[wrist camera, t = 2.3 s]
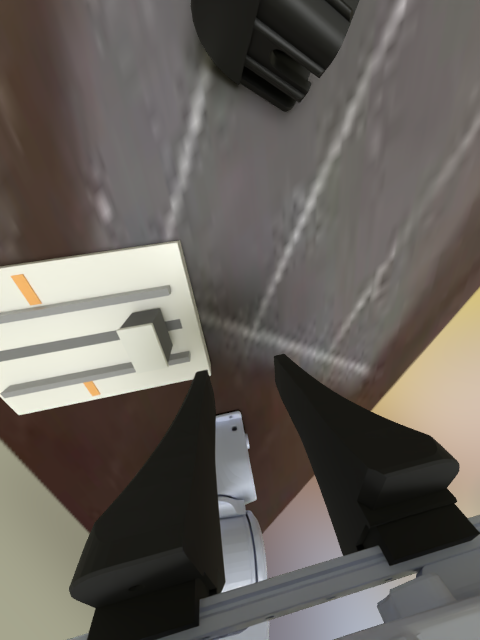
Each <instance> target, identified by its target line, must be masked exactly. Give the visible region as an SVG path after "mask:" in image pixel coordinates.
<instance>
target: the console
mask: <svg viewBox="0 0 480 640" xmlns="http://www.w3.org/2000/svg"><path fill="white" fill-rule="evenodd" d="M157 308H160V309H161V312H162V315H163V318H164V321H165V324H166V327H167V330H168V333H169V336H170V338H171V341H172V344H173V347H172V350H171V354H170V358H169V362H168V368H163V369H158V370H153V371H148V372H143V373H138V374H137V373H136V371H135V369H134V366H133V364H132V362H131V360H130V358H129V356H128V354H127V352H126V350H125V348H124V346H123V344H122V342H121V340H120V338H119V336H118V334H117V332H116V331H117V329H120V327H121V326H122V325H123V324H124V322H125V321H126V320H127V318H128V317H129V316H130V315H131V313H134V312H140V311H146V310H151V309H157ZM203 370H208V373H209V376H211V363H210V359H209V355H208V351H207V347H206V343H205V339H204V335H203V331H202V327H201V323H200V319H199V315H198V311H197V307H196V303H195V299H194V295H193V291H192V287H191V283H190V279H189V275H188V271H187V267H186V263H185V259H184V255H183V251H182V246H181V242H180V240H179V241H172V242H165V243H158V244H151V245H144V246H138V247H131V248H124V249H117V250H110V251H103V252H96V253H90V254H83V255H76V256H69V257H62V258H55V259H48V260H42V261H35V262H28V263H21V264H14V265H7V266H0V397H1V398H2V399H3V400H4V401H5V402H6V403H7V404H8V405H9V406H10V407H11V408H12V409H13V410H14V411H15V412H16V413H17V414H18V415H22V414H27V413H32V412H37V411H41V410H46V409H51V408H56V407H61V406H66V405H70V404H75V403H80V402H85V401H90V400H95V399H100V398H104V397H109V396H114V395H119V394H124V393H129V392H133V391H138V390H143V389H148V388H153V387H158V386H162V385H167V384H172V383H177V382H182V381H187V380H192V379H194V376H195V373H196V372H198V371H203Z"/></svg>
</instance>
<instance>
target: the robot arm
mask: <svg viewBox="0 0 480 640" xmlns="http://www.w3.org/2000/svg"><path fill="white" fill-rule="evenodd" d="M274 366H275V382H276V385H277V388H278V391H279V394H280V396H281V399H282V401H283V403H284V405H285V407H286V409H287V411H288V413H289V415H290V417H291V419H292V421H293V423H294V425H295V427H296V429H297V431H298V433H299V436H300V438H301V440H302V442H303V445H304V447H305V450H306V453H307V455H308V458H309V460H310V463H311V466H312V468H313V471H314V474H315V476H316V479H317V482H318V484H319V487H320V490H321V493H322V496H323V498H324V501H325V504H326V507H327V509H328V512H329V515H330V518H331V521H332V524H333V527H334V530H335V533H336V536H337V539H338V542H339V545H340V548H341V551H342V554H343V556H342V557H338V558H335V559H332V560H329V561H326V562H322V563H319V564H315V565H312V566H309V567H305V568H302V569H299V570H296V571H293V572H289V573H286V574H282V575H279V576H276V577H272V578H269V579H267V565H266V555H265V548H264V543H263V538H262V533H261V529H260V526H259V523H258V521H257V519H256V518H255V516H254V515H253V513H252V512H251V511H250V510H247V511H246V510H245V505H246V504H248V503H250V502H253V501H255V500H256V499H257V498H256V492H255V487H254V481H253V476H252V471H251V465H250V460H249V455H248V448H250V446H249V441H248V436H247V434H245V433H244V428H243V422H242V417H241V412H240V411H235V412H231V413H226V414H222V415H218V416H216V409H215V399H214V392H213V389H212V385H211V381H210V377H209V373H208V370H203V371H198V372H196V373H195V376H194V379H193V381H192V384H191V386H190V389H189V391H188V393H187V395H186V398H185V400H184V402H183V404H182V406H181V408H180V410H179V412H178V414H177V415H176V417H175V419H174V421H173V423H172V424H171V426H170V428H169V429H168V431H167V433H166V434H165V436H164V437H163V439H162V440H161V442H160V443H159V445H158V446H157V448H156V449H155V451H154V452H153V453H152V455H151V456H150V458H149V459H148V460H147V462H146V463H145V464H144V466H143V467H142V468H141V469H140V471H139V472H138V473H137V474H136V476H135V477H134V478H133V479H132V481H131V482H130V483H129V485H128V486H127V487H126V488H125V489H124V490H123V492H122V493H121V494H120V495H119V496H118V497H117V498H116V500H115V501H114V502H113V503H112V504H111V505H110V506H109V508H108V509H107V510H106V511H105V512H104V513H103V514H102V515H101V517H100V518H99V519H98V520H97V521H96V522H95V524H94V526H93V528H92V531H91V533H90V535H89V537H88V539H87V542H86V544H85V547H84V549H83V552H82V555H81V557H80V560H79V563H78V565H77V568H76V571H75V574H74V577H73V579H72V582H71V585H70V587H69V591H70V594H71V597H73V598H74V599H76V600H78V601H80V602H82V603H85V604H88V605H90V606H92V607H95V608H96V610H95V613H94V616H93V620H92V623H91V627H90V631H89V633H87V634H84V635H81V636H78V637H75V638H71V639H67V640H269V633H268V630H269V620H272V619H275V618H278V617H281V616H284V615H287V614H290V613H293V612H297V611H299V610H303V609H306V608H309V607H312V606H315V605H318V604H321V603H325V602H328V601H331V600H334V599H337V598H340V597H343V596H346V595H349V594H353V593H356V592H359V591H362V590H365V589H368V588H371V587H374V586H377V585H381V584H384V583H386V582H390V581H393V580H396V579H399V578H402V577H405V576H408V575H412V574H415V573H417V575H416V578H415V579H413V580H411V581H408V582H406V583H404V584H402V585H400V586H397V587H395V588H393V589H390V594H389V595H388V596H387V597H386V598H384V599H383V600H381V601H380V602H378V605H377V608H378V610H379V612H380V614H381V617H382V619H383V621H384V624H381V625H377V626H374V627H371V628H368V629H365V630H361V631H358V632H355V633H352V634H349V635H346V636H343V637H340V638H337V639H334V640H480V515H477V516H474V517H471V518H467V517H466V516H465V515H464V514H463V513H462V512H461V511H460V510H459V508H458V507H457V506H456V505H455V504H454V503H456V502H457V500H456V498H455V497H454V496H453V494H452V493H451V492H450V491H449V490H448V489H447V487H448V486H449V484H450V483H451V482H452V480H453V479H454V478H455V477H456V475H457V474H458V472H459V463H458V462H457V460H456V459H455V458H453V456H452V455H450V454H449V453H448V452H447V451H446V450H445V449H444V448H443V447H442V446H441V445H440V444H439V443H438V442H437V441H436V440H434V439H433V438H432V437H431V436H429V435H427V434H424V433H421V432H419V431H416V430H413V429H411V428H408V427H406V426H403V425H400V424H398V423H395V422H393V421H391V420H388V419H386V418H384V417H382V416H379V415H377V414H375V413H373V412H371V411H369V410H367V409H365V408H363V407H361V406H359V405H357V404H355V403H353V402H351V401H349V400H347V399H346V398H344V397H342V396H340V395H339V394H337V393H335V392H334V391H332V390H331V389H329V388H327V387H326V386H325V385H323V384H322V383H320V382H319V381H317V380H316V379H315V378H313V377H312V376H311V375H309V374H308V373H307V372H305V371H304V370H303V369H302V368H300V367H299V366H298V365H297V364H296V363H294V362H293V361H292V360H291V359H290V358H288V357H287V356H286V355H285V354H281V355H276V356H274Z"/></svg>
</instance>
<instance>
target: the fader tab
mask: <svg viewBox="0 0 480 640" xmlns="http://www.w3.org/2000/svg"><path fill="white" fill-rule="evenodd" d="M116 332H117V334H118V336H119V338H120V340H121V342H122V344H123V346H124V348H125V350H126V352H127V354H128V356H129V358H130V360H131V362H132V364H133V366H134V369H135V371H136V373H137V374H138V373H143V372H148V371H153V370H158V369H163V368H168V362H169V358H170V354H171V350H172V347H173V344H172V341H171V338H170V336H169V333H168V330H167V327H166V324H165V321H164V318H163V315H162V312H161V309H160V308H157V309H151V310H146V311H140V312H134V313H131V315H130V316H129V317H128V318H127V320H126V321H125V322H124V324H123V325H122V326H121V327H120V329H117V331H116Z"/></svg>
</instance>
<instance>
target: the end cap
mask: <svg viewBox="0 0 480 640" xmlns="http://www.w3.org/2000/svg"><path fill="white" fill-rule="evenodd" d="M358 2H359V0H191V10H192V17H193V22H194V25H195V28H196V31H197V34H198V37H199V39H200V41H201V43H202V45H203V47H204V48H205V50H206V52H207V53H208V55H209V56H210V58H211V59H212V60H213V62H214V63H215V64H216V65H217V66H218V67H219V68H220V70H221V71H222V72H223V73H224V74H226V75H227V76H228V77H229V78H230V79H231V80H233V81H234V82H235V83H237V84H238V85H239V83H241V84H242V85H244V86H245V87H247V88H249V89H250V90H252V91H253V92H255V93H256V94H258V95H259V96H261V97H263V98H264V99H266V100H267V101H269V102H270V103H272V104H273V105H275V106H277V107H278V108H280V109H281V110H283V111H289V110H291V109H292V107H293V106H294V104H295V103H296V101H297V102H299V103H300V102H301V100H302V99H303V98H304V97H305V95H306V94H307V93H308V91H309V89H310V86H311V82H309V81H308V77H309V75H310V72H311V73H313V74H314V75H316V76H317V77H318V78H320V77H321V75H322V74H323V73H324V72H325V70H326V69H327V68H328V67H329V65H330V64H331V63H332V61H333V60H334V58H335V56H336V55H337V53H338V51H339V49H340V47H341V45H342V43H343V41H344V38H345V36H346V33H347V31H348V28H349V26H350V23H351V20H352V18H353V15H354V13H355V10H356V8H357V5H358Z"/></svg>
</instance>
